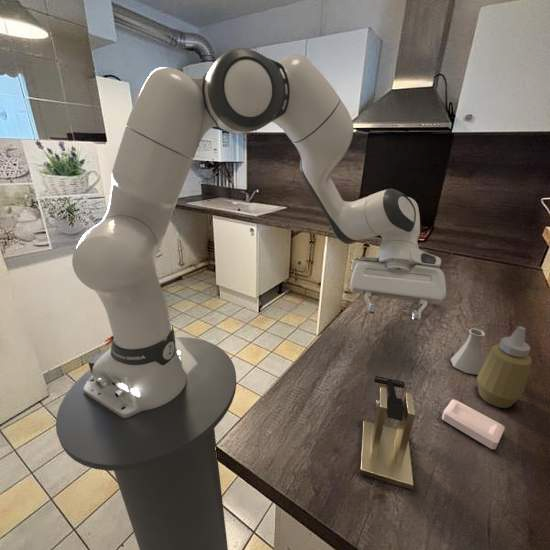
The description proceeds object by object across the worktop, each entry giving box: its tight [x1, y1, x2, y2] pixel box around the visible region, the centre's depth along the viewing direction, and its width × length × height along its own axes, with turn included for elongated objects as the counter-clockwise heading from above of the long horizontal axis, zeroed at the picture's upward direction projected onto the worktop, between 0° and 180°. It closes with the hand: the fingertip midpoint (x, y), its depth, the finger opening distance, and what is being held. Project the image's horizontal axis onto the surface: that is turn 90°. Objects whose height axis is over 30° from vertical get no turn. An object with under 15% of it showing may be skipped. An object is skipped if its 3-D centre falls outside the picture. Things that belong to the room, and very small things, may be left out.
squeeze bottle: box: [476, 325, 533, 409], centre depth 60 cm, size 8×8×18 cm
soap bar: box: [441, 398, 506, 450], centre depth 56 cm, size 5×9×2 cm, turn 42°
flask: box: [449, 327, 486, 376], centre depth 71 cm, size 7×7×10 cm
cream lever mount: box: [359, 386, 417, 490], centre depth 49 cm, size 10×8×13 cm
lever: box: [373, 375, 406, 422], centre depth 52 cm, size 13×6×2 cm, turn 161°
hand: (393, 316), depth 64 cm, fingers open, 8 cm apart
